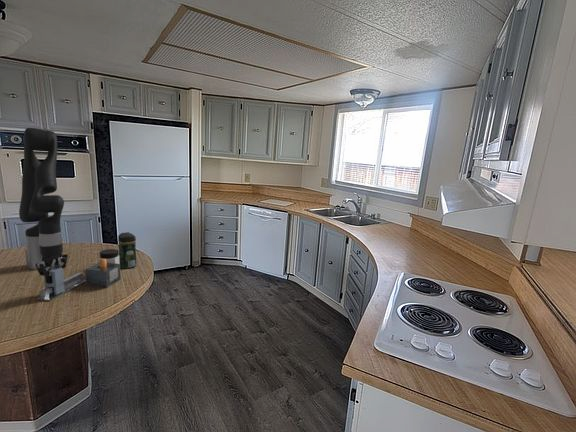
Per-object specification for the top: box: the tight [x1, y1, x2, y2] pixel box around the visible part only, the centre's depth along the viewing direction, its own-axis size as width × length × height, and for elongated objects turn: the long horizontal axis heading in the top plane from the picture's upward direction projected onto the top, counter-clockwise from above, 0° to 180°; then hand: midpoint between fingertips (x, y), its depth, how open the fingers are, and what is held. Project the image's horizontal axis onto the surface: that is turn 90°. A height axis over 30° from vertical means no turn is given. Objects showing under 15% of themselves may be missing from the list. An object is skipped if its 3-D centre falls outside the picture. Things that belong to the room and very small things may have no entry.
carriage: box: [43, 268, 65, 295], centre depth 127 cm, size 5×4×10 cm
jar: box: [98, 248, 120, 264], centre depth 152 cm, size 9×8×12 cm
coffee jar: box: [117, 231, 137, 269], centre depth 163 cm, size 10×8×19 cm
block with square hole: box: [85, 262, 122, 288], centre depth 142 cm, size 10×10×8 cm
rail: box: [35, 271, 86, 302], centre depth 132 cm, size 6×21×4 cm, turn 175°
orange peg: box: [98, 259, 107, 268], centre depth 141 cm, size 3×3×8 cm
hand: (54, 281), depth 127 cm, fingers closed on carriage, 4 cm apart
